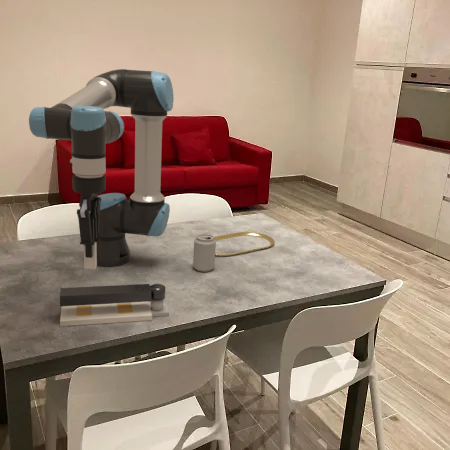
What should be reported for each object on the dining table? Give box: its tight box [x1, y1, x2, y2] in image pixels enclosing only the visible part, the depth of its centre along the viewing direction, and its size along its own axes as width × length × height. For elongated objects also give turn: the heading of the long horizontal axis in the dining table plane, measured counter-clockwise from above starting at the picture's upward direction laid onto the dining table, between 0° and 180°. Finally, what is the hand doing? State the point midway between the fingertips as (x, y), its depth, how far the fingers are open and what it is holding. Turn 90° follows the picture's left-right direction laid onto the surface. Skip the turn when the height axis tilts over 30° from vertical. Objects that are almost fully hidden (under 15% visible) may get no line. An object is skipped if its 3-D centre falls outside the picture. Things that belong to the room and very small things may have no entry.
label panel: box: [59, 298, 170, 327], centre depth 137 cm, size 10×29×4 cm, turn 105°
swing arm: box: [59, 283, 166, 307], centre depth 136 cm, size 28×5×3 cm, turn 105°
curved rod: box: [214, 231, 275, 257], centre depth 197 cm, size 19×35×2 cm, turn 126°
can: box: [192, 233, 217, 273], centre depth 171 cm, size 8×8×12 cm
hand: (90, 267), depth 122 cm, fingers closed
